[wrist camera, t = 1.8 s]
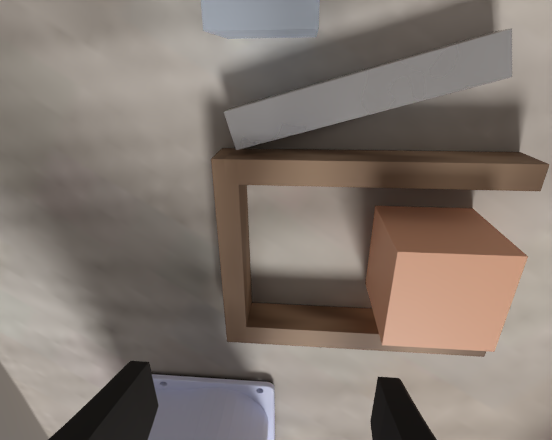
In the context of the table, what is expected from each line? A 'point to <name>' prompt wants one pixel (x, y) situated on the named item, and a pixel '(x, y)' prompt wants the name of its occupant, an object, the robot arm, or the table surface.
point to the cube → (440, 278)
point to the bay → (336, 173)
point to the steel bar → (374, 89)
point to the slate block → (261, 18)
